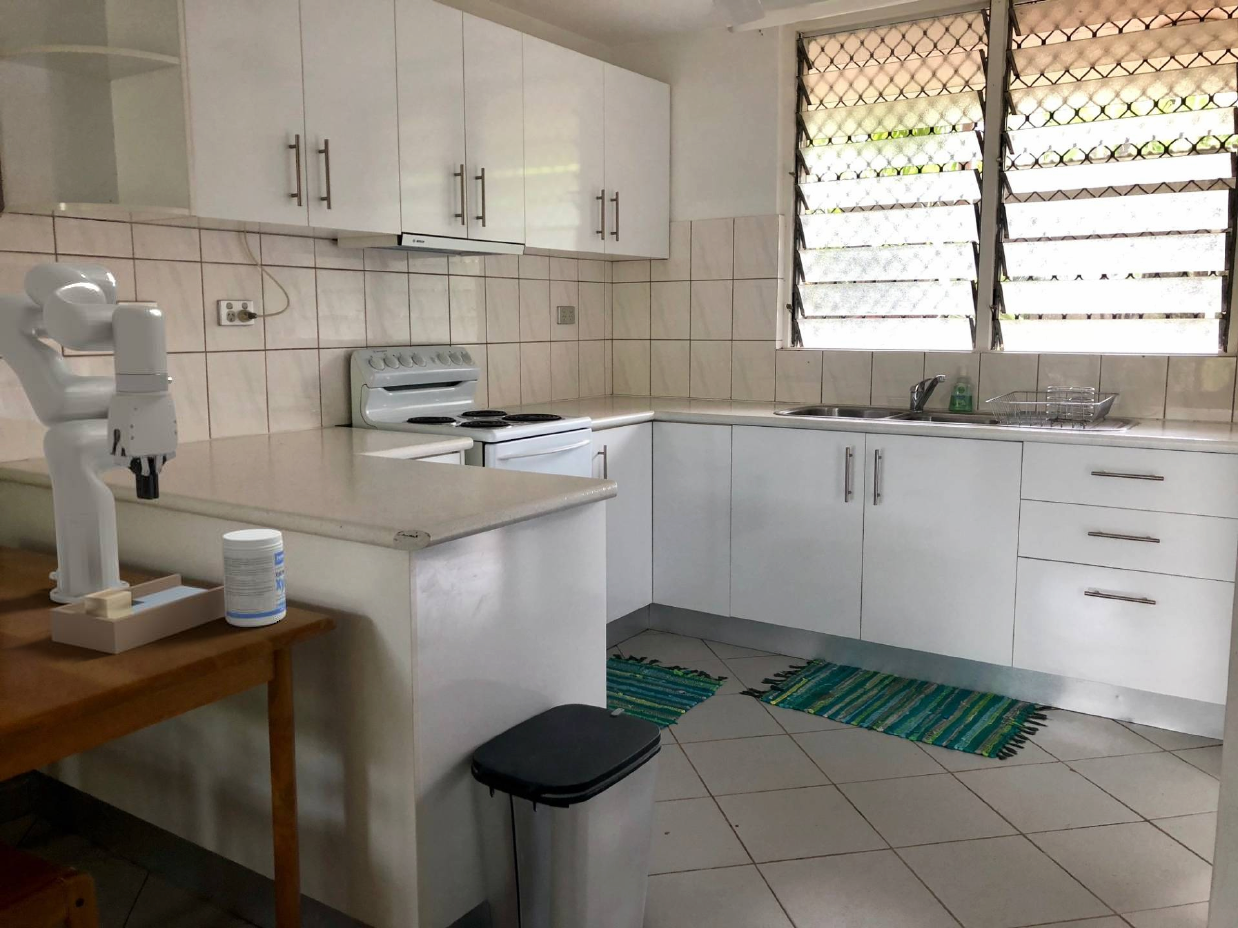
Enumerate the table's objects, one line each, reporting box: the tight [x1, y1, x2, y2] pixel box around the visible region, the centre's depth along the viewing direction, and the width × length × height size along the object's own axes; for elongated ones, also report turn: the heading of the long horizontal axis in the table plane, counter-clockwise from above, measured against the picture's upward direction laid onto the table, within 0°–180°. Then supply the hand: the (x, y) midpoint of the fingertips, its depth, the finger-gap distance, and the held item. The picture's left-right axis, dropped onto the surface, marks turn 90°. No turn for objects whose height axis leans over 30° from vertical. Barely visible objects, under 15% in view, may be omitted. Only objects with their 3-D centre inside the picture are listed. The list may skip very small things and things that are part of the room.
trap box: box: [49, 573, 226, 655], centre depth 158 cm, size 14×24×5 cm, turn 156°
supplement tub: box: [221, 528, 287, 628], centre depth 161 cm, size 10×10×15 cm
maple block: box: [84, 589, 132, 619], centre depth 150 cm, size 4×4×4 cm
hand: (148, 498), depth 156 cm, fingers closed
